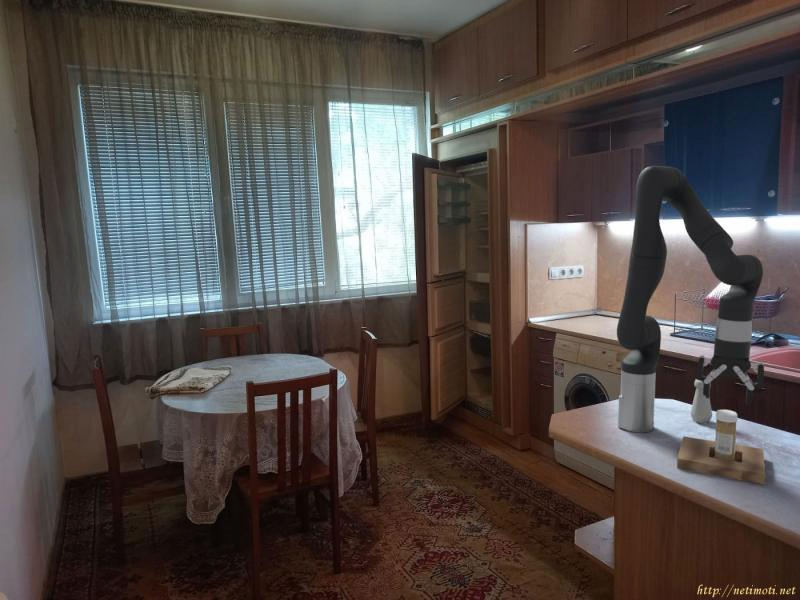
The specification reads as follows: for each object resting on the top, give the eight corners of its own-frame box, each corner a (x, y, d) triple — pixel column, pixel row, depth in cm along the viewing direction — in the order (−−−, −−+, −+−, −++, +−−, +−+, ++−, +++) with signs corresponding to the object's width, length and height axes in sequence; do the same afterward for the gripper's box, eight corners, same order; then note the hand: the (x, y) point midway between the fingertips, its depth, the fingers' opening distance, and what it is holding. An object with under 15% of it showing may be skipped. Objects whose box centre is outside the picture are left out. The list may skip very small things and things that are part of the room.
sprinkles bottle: (738, 464, 135) (741, 412, 133) (729, 469, 133) (731, 416, 131) (719, 458, 139) (721, 407, 137) (709, 463, 136) (712, 411, 135)
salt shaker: (709, 418, 166) (712, 377, 164) (713, 425, 161) (716, 382, 159) (688, 417, 168) (690, 376, 166) (691, 423, 163) (693, 381, 161)
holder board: (676, 467, 134) (677, 458, 134) (683, 445, 148) (683, 436, 147) (764, 484, 125) (765, 474, 124) (762, 458, 138) (763, 449, 138)
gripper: (698, 336, 133) (693, 399, 136) (768, 343, 126) (761, 410, 128) (700, 330, 140) (696, 391, 142) (767, 337, 132) (761, 401, 135)
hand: (727, 400), depth 135 cm, fingers open, 8 cm apart
